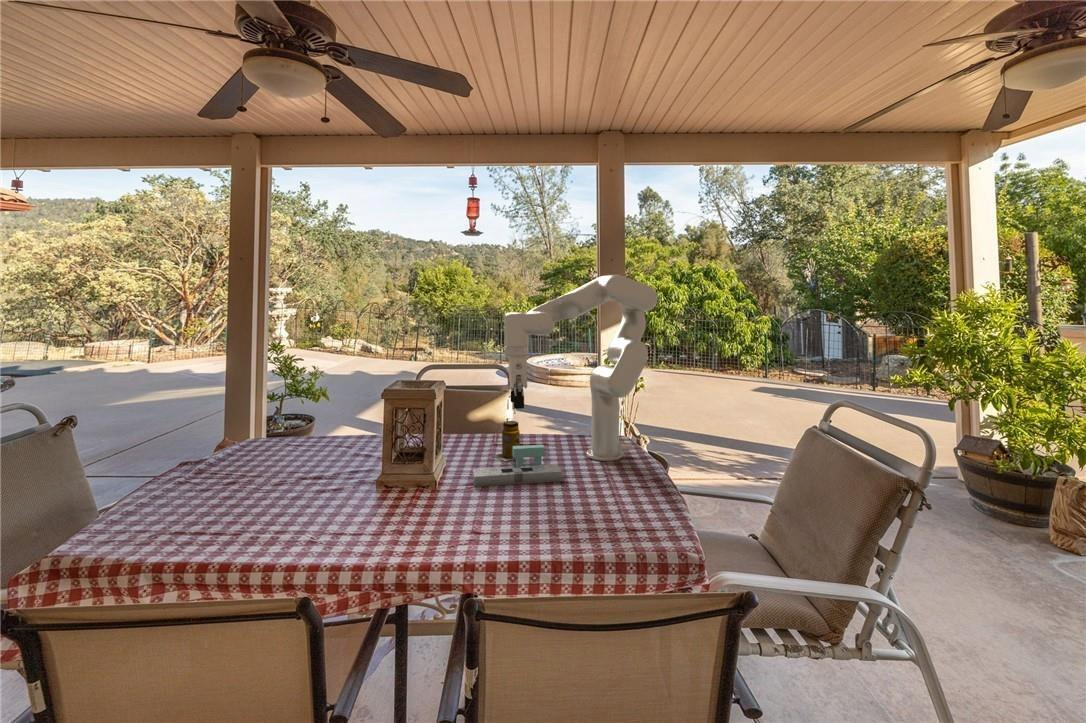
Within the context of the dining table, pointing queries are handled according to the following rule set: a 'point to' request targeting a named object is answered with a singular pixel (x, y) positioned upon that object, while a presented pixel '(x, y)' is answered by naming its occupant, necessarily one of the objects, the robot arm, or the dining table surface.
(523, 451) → the clip
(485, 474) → the rail
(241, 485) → the dining table surface
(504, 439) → the condiment
